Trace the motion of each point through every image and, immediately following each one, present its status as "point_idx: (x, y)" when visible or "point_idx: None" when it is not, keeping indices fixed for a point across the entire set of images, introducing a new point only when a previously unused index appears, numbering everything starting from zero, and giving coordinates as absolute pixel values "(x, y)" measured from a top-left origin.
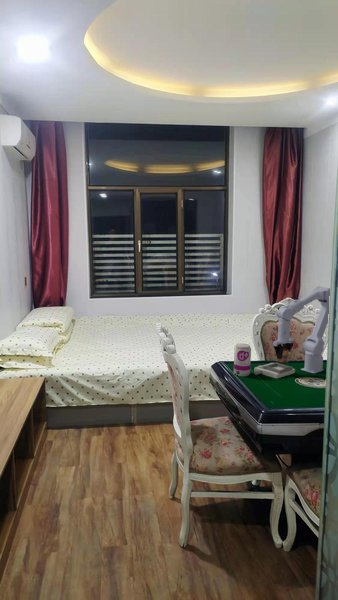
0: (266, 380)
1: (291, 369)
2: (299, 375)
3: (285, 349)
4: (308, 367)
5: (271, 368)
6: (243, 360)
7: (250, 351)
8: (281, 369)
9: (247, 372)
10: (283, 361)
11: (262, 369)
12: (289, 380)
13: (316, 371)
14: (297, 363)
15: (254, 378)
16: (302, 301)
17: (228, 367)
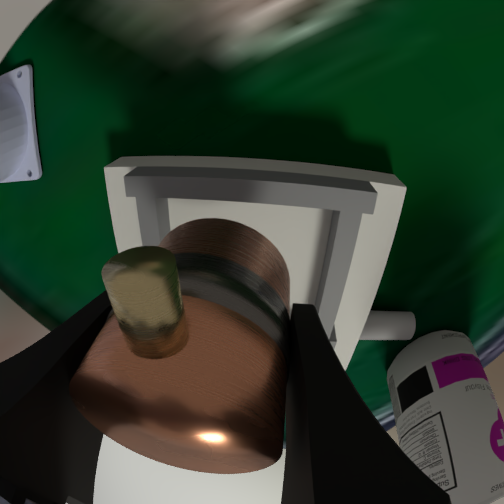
0: (472, 210)
1: (151, 169)
2: (141, 88)
3: (120, 420)
4: (7, 123)
5: (342, 288)
6: (499, 411)
7: (480, 469)
8: (309, 205)
9: (459, 343)
10: (271, 253)
11: (347, 330)
12: (353, 64)
13: (1, 82)
14: (3, 262)
15: (469, 283)
16: None
17: None
